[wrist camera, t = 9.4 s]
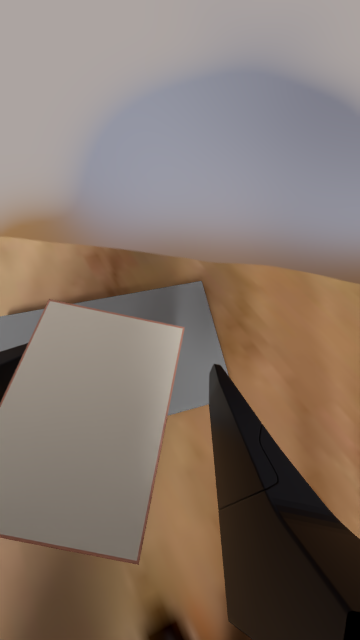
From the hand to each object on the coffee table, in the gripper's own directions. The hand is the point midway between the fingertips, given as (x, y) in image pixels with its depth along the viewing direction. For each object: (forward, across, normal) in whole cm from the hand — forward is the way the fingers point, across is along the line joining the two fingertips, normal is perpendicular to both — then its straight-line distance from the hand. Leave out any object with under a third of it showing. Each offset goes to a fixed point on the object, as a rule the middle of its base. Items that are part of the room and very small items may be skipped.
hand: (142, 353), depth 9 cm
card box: (+4, 0, +6) cm, 7 cm away
